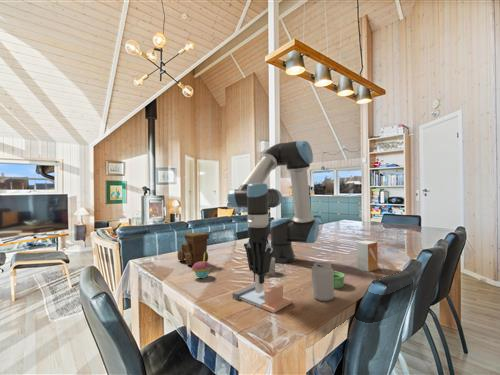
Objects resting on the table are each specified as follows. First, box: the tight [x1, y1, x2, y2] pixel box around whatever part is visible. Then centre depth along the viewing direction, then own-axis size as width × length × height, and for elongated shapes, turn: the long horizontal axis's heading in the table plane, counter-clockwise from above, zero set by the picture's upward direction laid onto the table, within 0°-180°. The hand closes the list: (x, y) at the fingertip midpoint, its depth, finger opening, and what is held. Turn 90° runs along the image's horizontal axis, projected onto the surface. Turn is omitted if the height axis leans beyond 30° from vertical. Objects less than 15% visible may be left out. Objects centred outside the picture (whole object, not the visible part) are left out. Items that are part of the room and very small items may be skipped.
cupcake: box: [191, 253, 212, 279], centre depth 116 cm, size 9×8×12 cm
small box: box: [355, 240, 379, 273], centre depth 122 cm, size 8×6×13 cm
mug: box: [264, 257, 276, 276], centre depth 119 cm, size 10×7×7 cm, turn 135°
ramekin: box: [333, 270, 346, 289], centre depth 103 cm, size 9×9×4 cm
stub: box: [261, 283, 293, 314], centre depth 85 cm, size 5×10×6 cm, turn 136°
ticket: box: [232, 283, 266, 309], centre depth 92 cm, size 13×12×2 cm
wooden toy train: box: [176, 231, 210, 266], centre depth 140 cm, size 20×11×17 cm, turn 39°
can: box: [311, 261, 335, 302], centre depth 91 cm, size 8×8×12 cm
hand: (259, 291), depth 91 cm, fingers closed
